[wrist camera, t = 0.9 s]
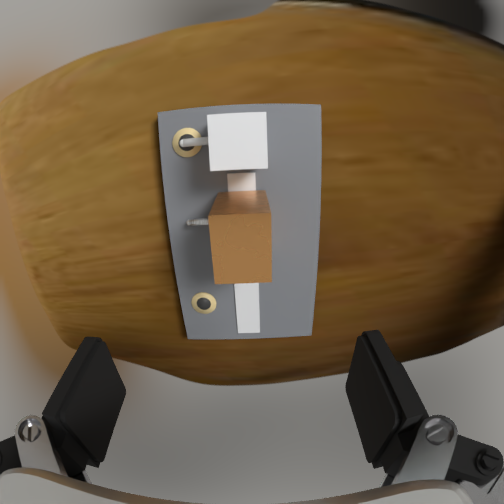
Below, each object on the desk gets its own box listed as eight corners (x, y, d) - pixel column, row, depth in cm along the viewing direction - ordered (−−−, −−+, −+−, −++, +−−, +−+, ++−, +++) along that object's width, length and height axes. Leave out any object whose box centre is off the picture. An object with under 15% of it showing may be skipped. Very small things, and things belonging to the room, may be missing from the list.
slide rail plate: (317, 105, 24) (337, 100, 18) (309, 327, 34) (319, 366, 28) (162, 113, 24) (137, 110, 18) (190, 331, 34) (180, 370, 28)
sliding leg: (265, 190, 25) (271, 213, 19) (266, 244, 27) (271, 282, 21) (184, 194, 25) (163, 218, 19) (190, 246, 27) (173, 285, 21)
